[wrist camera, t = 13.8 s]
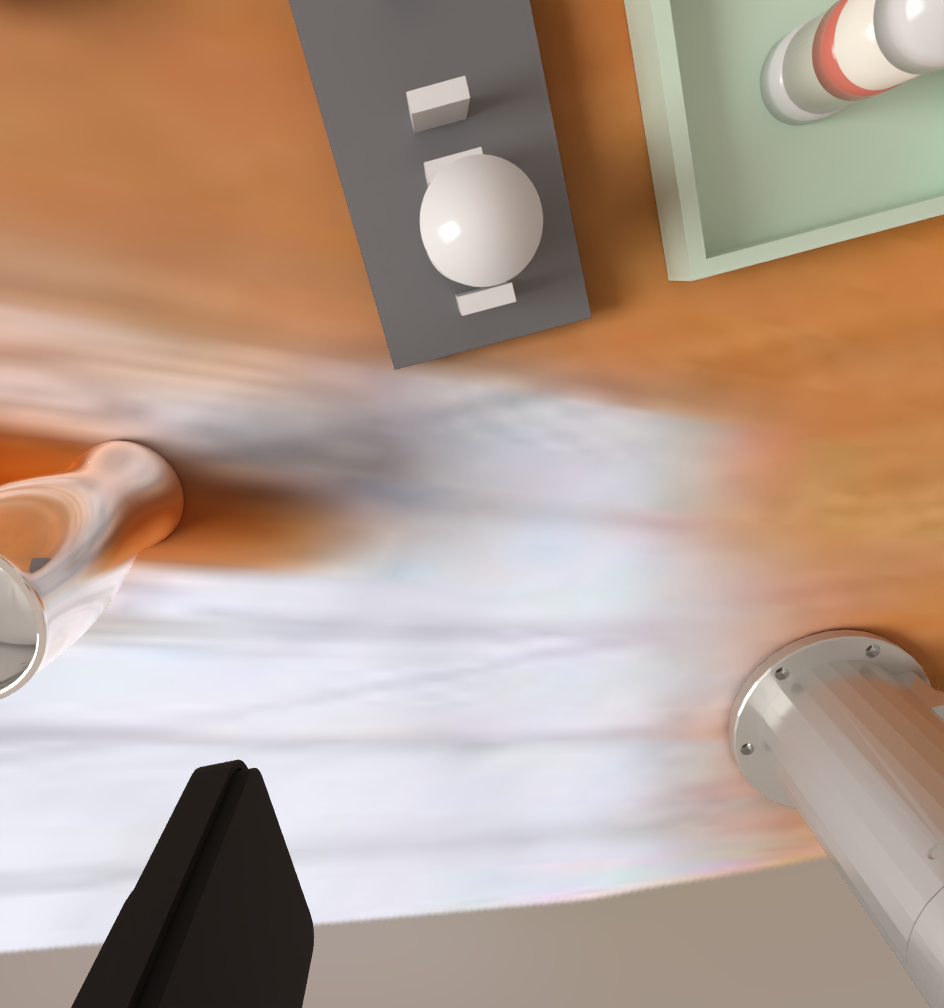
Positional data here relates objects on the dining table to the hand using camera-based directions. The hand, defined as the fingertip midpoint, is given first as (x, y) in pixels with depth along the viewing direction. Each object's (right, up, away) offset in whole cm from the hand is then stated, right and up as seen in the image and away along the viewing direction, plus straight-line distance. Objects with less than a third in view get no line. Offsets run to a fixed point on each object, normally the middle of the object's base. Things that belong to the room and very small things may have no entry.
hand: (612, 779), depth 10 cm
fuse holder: (-4, +24, +23) cm, 34 cm away
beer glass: (-21, +4, +29) cm, 36 cm away
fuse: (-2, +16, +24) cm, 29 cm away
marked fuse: (+13, +24, +24) cm, 36 cm away
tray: (+13, +24, +24) cm, 37 cm away
